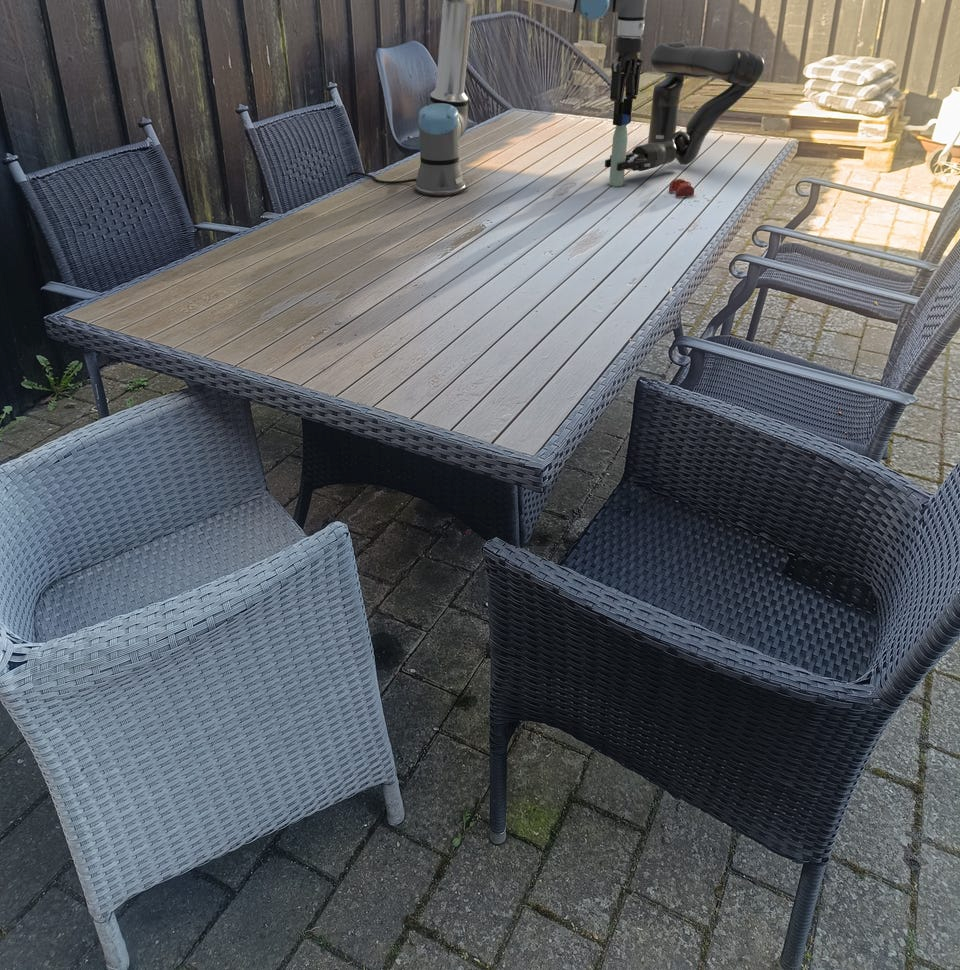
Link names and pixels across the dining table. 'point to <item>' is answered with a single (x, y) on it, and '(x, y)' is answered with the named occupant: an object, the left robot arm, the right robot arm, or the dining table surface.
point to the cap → (625, 119)
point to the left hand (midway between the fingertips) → (621, 123)
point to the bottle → (618, 155)
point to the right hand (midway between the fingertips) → (611, 165)
